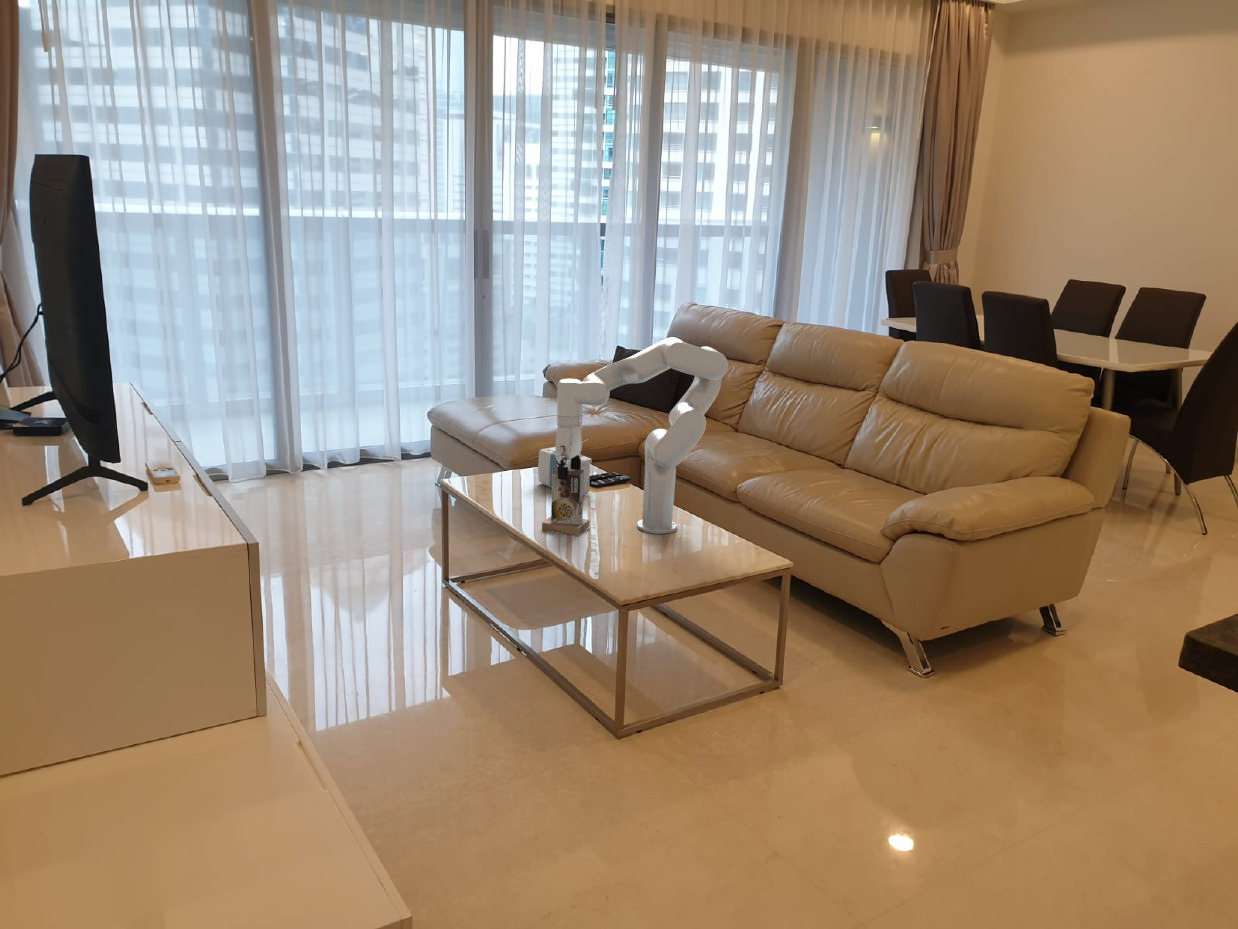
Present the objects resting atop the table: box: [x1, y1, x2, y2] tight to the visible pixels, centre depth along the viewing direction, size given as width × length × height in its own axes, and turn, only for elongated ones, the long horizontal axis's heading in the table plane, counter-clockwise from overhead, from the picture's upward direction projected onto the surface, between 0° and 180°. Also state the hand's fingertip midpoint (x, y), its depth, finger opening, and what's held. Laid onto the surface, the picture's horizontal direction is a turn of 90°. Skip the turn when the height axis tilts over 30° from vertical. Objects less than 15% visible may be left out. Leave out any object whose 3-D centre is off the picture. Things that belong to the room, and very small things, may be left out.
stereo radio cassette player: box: [537, 438, 593, 496], centre depth 317 cm, size 21×8×20 cm, turn 42°
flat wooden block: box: [541, 516, 590, 537], centre depth 280 cm, size 9×12×2 cm
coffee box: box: [550, 468, 584, 525], centre depth 277 cm, size 9×6×16 cm
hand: (569, 475), depth 276 cm, fingers open, 9 cm apart
